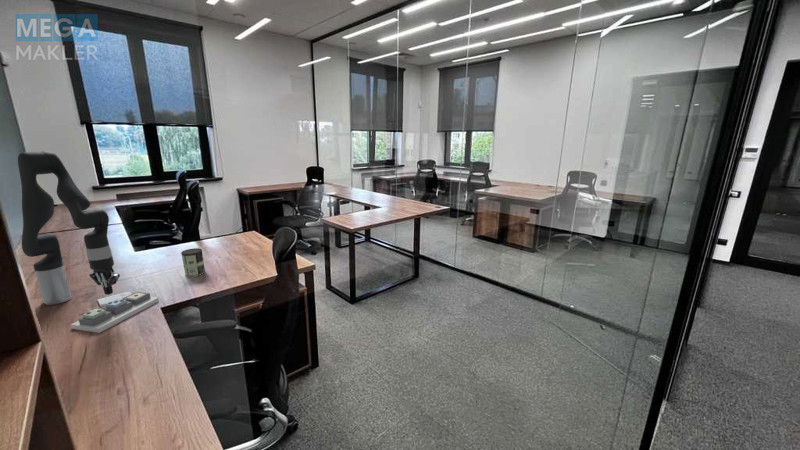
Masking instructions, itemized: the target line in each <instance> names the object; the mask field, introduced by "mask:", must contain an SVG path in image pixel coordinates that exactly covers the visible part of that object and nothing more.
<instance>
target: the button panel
mask: <svg viewBox="0 0 800 450" xmlns="http://www.w3.org/2000/svg"><path fill="white" fill-rule="evenodd" d="M135 293H142V294H145V295H143V296H141V297H139V298H137V299H130V298H127V297H129V296H131V295H133V294H135ZM131 295H129V296H127V297H124V298H122V299H123V300H127V303H126V304H124V305H122V306H120V307H118V308H116V309H114V308H106V306H102V307H101V309H103V310H106V314H104V315H102V316H100V317H98V318H96V319H93V320H92V319H85V318H83V316H81V317H79V318H78V320H77V321H75V322H73V323H71V324H70V327H71V329H73V330H77V331H78V330H79V331H84V332H91V333H97V334H98V333H102V332H104V331H106V330H108V329H109V328H111V327H114V326H115V325H117V324H118V323H121V322H122V321H125V320H127V319H128V318H130V317H132V316H134V315H136V314H138V313H140V312H142V311H143V310H145V309H147V308H149V307H151V306H153V305H154V304H155V305H156V303H159V302H160V300H159V297H156V296H151V294H150V292H145V291H143V292H142V291H135V292H133V293H132V294H131Z"/></svg>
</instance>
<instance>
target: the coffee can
mask: <svg viewBox="0 0 800 450" xmlns="http://www.w3.org/2000/svg"><path fill="white" fill-rule="evenodd" d="M180 255H181V257H182V264H183V268H184V275H185V277H187V278H194V277H193V276H195V277H199V276H198V275H200V276H202V275H204V274H205V273H206V268H205V263H204V262H205V260H204V256H203V249H202V248H200V247H199V248H195V247H194V248H188V249H185V250H182V251H181V253H180ZM204 272H205V273H204ZM203 273H204V274H203ZM201 274H202V275H201Z"/></svg>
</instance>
